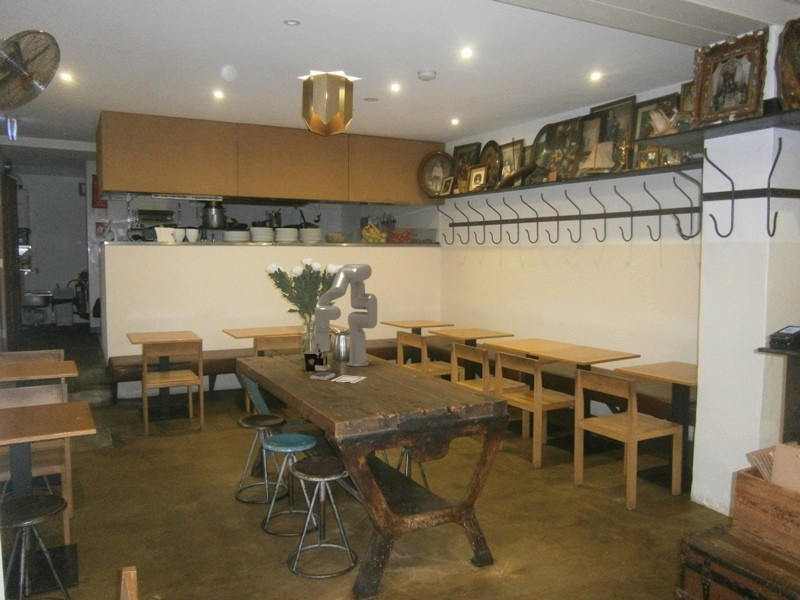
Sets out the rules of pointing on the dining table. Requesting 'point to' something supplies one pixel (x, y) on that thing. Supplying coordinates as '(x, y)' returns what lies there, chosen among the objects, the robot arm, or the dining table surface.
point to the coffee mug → (310, 360)
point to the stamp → (325, 366)
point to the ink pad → (322, 376)
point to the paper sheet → (348, 379)
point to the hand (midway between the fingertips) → (322, 364)
